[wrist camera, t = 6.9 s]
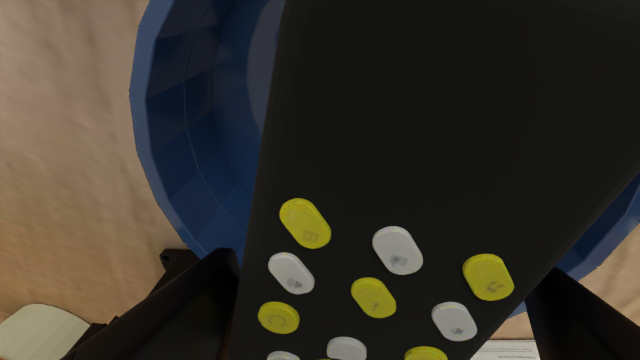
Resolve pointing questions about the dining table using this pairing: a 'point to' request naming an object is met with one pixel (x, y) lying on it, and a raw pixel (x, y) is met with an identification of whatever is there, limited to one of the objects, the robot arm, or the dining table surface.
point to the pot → (246, 125)
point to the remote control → (429, 169)
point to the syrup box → (507, 350)
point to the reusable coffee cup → (39, 333)
